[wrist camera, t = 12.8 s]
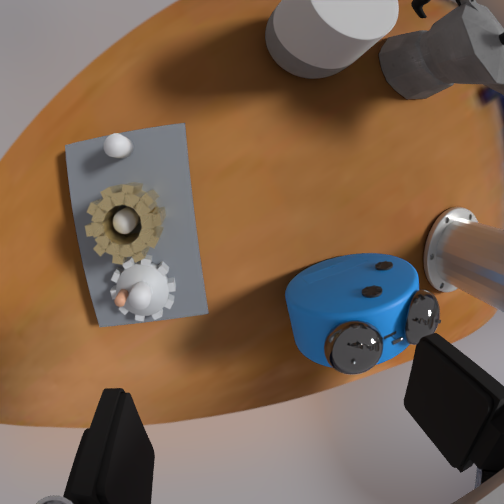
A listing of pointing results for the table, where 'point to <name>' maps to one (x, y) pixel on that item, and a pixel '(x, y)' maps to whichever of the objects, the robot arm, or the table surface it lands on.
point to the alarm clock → (359, 310)
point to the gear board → (139, 226)
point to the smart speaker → (326, 33)
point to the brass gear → (129, 242)
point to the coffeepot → (446, 53)
